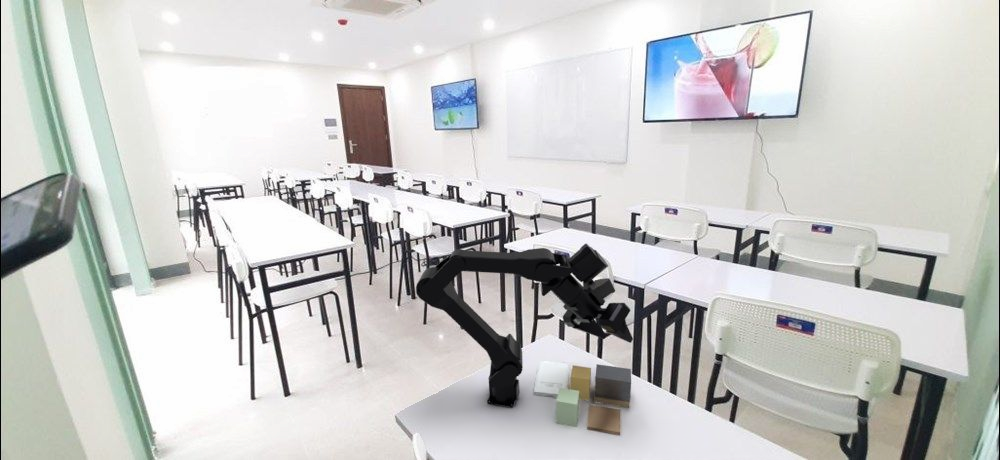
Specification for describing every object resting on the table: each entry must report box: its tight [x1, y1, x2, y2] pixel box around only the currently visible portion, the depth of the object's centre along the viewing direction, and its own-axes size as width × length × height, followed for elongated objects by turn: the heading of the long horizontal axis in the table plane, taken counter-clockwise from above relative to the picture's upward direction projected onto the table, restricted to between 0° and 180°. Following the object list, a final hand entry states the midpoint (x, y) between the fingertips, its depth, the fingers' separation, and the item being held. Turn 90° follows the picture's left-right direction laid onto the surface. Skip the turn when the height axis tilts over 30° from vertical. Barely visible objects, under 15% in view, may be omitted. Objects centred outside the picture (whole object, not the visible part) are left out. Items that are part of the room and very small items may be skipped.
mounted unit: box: [593, 363, 632, 408], centre depth 97 cm, size 8×5×7 cm, turn 74°
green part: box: [555, 388, 580, 428], centre depth 92 cm, size 4×4×6 cm
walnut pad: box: [586, 404, 622, 436], centre depth 91 cm, size 7×7×1 cm
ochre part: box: [569, 364, 592, 401], centre depth 99 cm, size 4×4×6 cm
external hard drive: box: [532, 360, 570, 398], centre depth 105 cm, size 2×8×12 cm
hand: (617, 339), depth 93 cm, fingers open, 9 cm apart
